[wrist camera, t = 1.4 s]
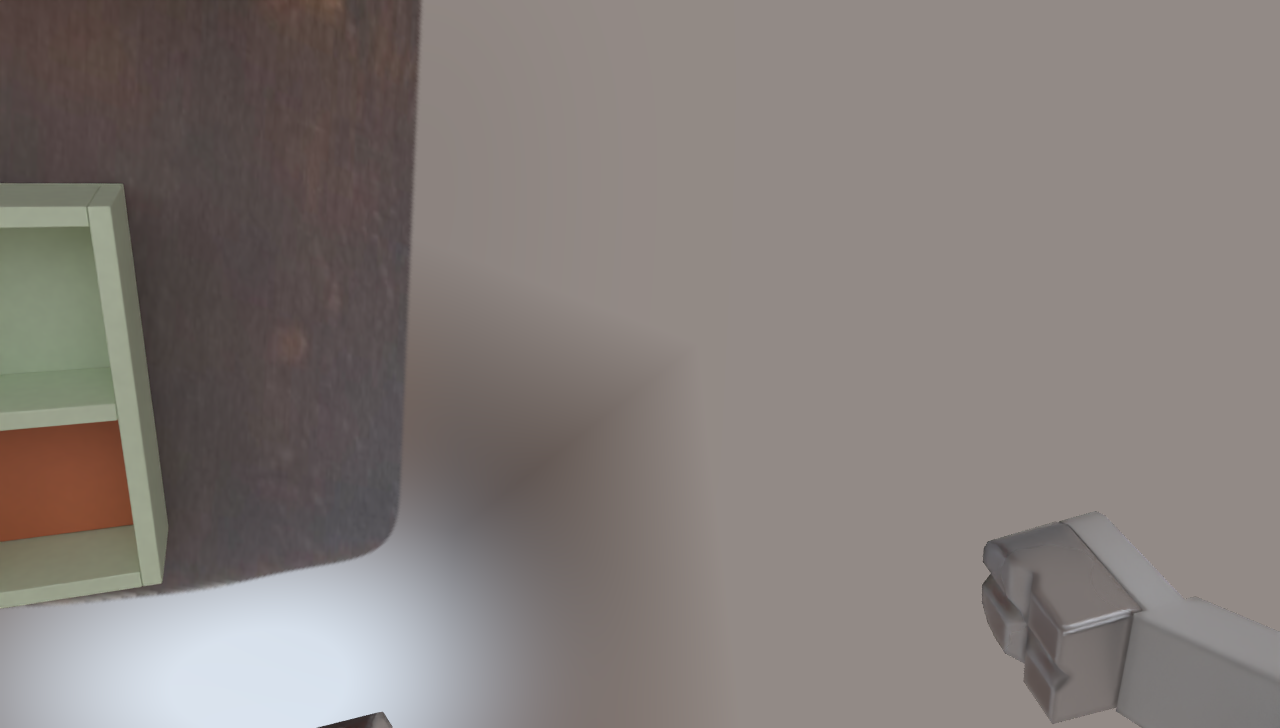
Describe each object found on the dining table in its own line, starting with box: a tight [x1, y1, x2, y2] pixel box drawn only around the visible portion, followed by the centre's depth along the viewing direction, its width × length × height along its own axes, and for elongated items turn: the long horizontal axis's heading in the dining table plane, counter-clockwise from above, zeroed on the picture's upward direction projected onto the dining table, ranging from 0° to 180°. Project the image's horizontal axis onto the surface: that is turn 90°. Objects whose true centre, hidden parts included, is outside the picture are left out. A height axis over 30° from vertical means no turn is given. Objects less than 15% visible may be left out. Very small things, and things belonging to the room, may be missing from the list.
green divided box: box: [0, 183, 168, 609], centre depth 38 cm, size 9×17×5 cm, turn 175°
